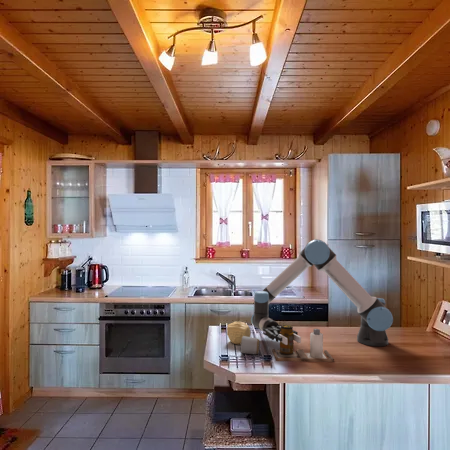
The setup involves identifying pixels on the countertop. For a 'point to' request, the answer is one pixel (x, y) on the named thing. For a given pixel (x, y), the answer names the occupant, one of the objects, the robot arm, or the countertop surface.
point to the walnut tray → (303, 357)
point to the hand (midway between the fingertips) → (293, 340)
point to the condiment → (288, 349)
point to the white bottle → (316, 344)
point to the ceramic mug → (250, 345)
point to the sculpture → (237, 331)
